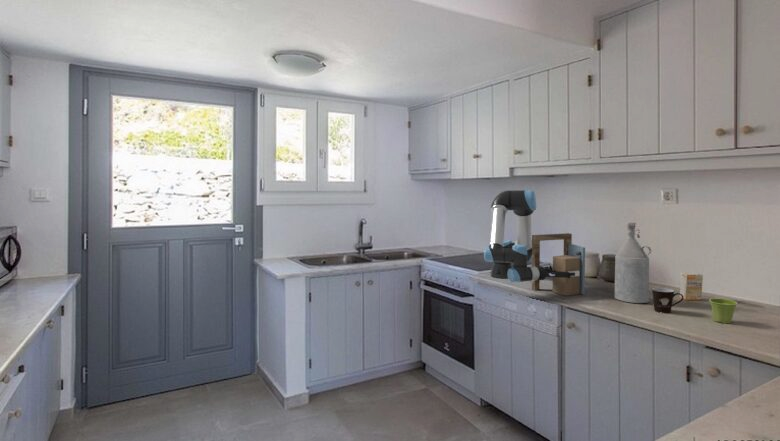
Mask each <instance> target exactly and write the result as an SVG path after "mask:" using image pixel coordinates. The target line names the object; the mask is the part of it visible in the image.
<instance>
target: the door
mask: <svg viewBox="0 0 780 441" xmlns="http://www.w3.org/2000/svg"><path fill="white" fill-rule="evenodd" d="M568 255H569V256H574V257H579V258H580V294H581V295H585V293H586V291H585V284H586V283H585V282H586V279H585V278H586V271H585V270H586V247H584V246H581V245H577V244H573V243H572V244H568Z"/></svg>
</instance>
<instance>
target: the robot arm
mask: <svg viewBox="0 0 780 441" xmlns="http://www.w3.org/2000/svg"><path fill="white" fill-rule="evenodd" d="M536 210H537V199H536V193H535V191H534V190H531V189H530V190H529V189H525V190H520V189H519V190H513V189H511V190H509V189H508V190H504V191H501V192H499V194H497V195H496V196H495V197H494V198H493V200H492V203H491V205H490V212H491V221H490V232H489V244H488V247H485V248H484V251H483V259H484V261H485V262H487V263H492V264H493V265H492V267H491V270H490V277H491V278H495V277H497V279H508V280H509V281H510V282H511V283H522V282H530V283H532V281H536V280H540V281H544V280H545V279H546V278H552V279H553V277H561V278H571V277H572V276H579V271H568V272H560V271H555V270H553V265H549V266H542V265H540V266H536V267H535V266H533V267H532V266H528V262H532V214H533V213H534V212H535V211H536ZM508 211H513V214H514V215H515V217H516V218H515V220H516V221H515V223H516V225H515V226H516V240H515V241H514V242H513V241H512V240H510V239H508V240H504V239H505V226H506V225H505V224H506V214H508Z"/></svg>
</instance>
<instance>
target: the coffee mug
mask: <svg viewBox="0 0 780 441" xmlns="http://www.w3.org/2000/svg"><path fill="white" fill-rule="evenodd" d="M651 291H652V302H653V310H655V311H654V312H657V313H660V312H662V313H661V314H670V312H671V313H672V307H673V306H675V305H677V304H680V303H681V302H682V301H683V300H684V299H683V295H682V294H680V292H679V293H678V292H676V293H675V290H674V289H672V288H665V287H653V288H652V290H651ZM677 295H679V296H680V295H681V296H682V299H681V298H680V300H678V301H677V302H675V303H673V302H674V297H675V296H677Z"/></svg>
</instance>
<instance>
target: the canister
mask: <svg viewBox="0 0 780 441" xmlns="http://www.w3.org/2000/svg"><path fill="white" fill-rule="evenodd" d="M636 223H637V222H629V221H627V222H626V227H627V239H626V240H625V242H624V243H623V244H622V246H621V247H620V248H619V250H618V251H617V252H616V255H615V257H614V258H615V260H614V261H615V264H614V299H616V300H619V301H621V302H626V303H634V304H645V303H649V302H650V258H649V255H650V254H652V252H651V251H652V249H651V247H650V246H647V245H644V246H641V245H640V243H639V242H638V240H637V239H636V237H635V235H636V236H637V238H638V239H640V238H641V236H640V229H637V230H636V228H637V227H636V225H637V224H636ZM637 231H638V232H637ZM635 232H637V233H638V234H637V233H635ZM644 248H647V249H648V250H649V252H648V254H646V252H645V250H644Z"/></svg>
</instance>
